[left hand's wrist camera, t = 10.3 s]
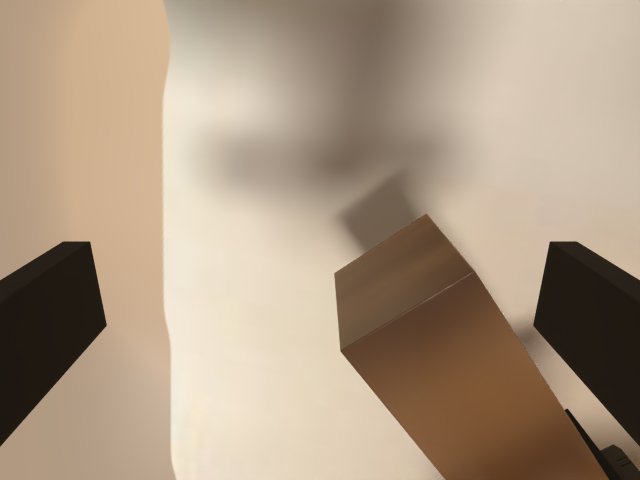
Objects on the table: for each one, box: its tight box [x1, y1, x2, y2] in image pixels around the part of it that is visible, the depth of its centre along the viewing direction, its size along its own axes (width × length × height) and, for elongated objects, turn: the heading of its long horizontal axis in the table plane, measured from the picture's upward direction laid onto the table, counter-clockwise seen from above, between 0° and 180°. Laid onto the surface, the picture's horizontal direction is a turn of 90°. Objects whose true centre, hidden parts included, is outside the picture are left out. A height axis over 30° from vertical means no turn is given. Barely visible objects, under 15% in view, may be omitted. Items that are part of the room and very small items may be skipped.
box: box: [334, 214, 609, 480], centre depth 26 cm, size 24×7×9 cm, turn 35°
